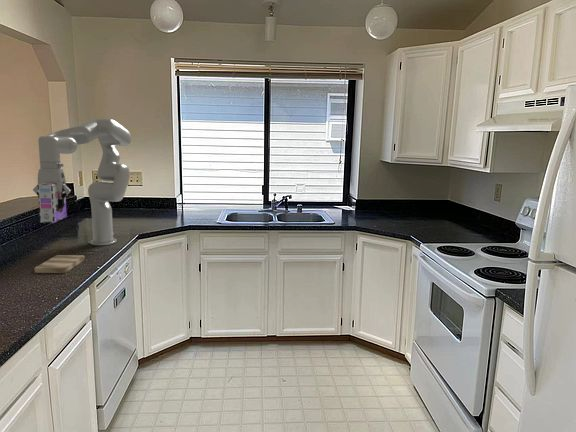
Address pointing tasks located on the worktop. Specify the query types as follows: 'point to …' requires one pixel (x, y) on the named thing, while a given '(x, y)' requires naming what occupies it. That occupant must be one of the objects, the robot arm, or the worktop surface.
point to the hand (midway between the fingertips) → (53, 207)
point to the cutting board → (59, 264)
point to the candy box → (50, 204)
